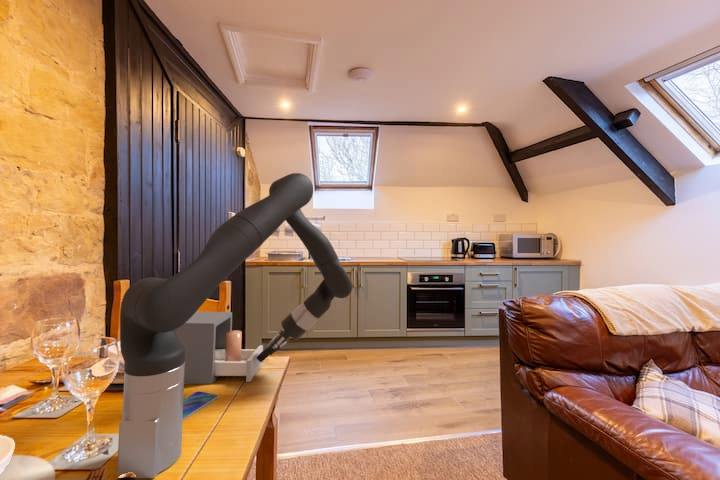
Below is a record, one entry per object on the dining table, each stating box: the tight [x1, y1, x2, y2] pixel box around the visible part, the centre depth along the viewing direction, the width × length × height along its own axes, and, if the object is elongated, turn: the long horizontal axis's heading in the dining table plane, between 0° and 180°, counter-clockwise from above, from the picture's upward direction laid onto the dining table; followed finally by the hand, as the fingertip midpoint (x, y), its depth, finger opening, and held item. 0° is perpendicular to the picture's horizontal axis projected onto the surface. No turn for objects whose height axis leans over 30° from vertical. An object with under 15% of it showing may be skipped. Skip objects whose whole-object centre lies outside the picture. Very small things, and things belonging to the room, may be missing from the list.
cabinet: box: [175, 311, 233, 385], centre depth 92 cm, size 16×14×17 cm
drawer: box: [214, 344, 264, 383], centre depth 93 cm, size 16×13×6 cm
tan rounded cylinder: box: [224, 329, 243, 362], centre depth 92 cm, size 5×5×10 cm
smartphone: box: [183, 391, 219, 421], centre depth 72 cm, size 7×1×15 cm
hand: (259, 359), depth 93 cm, fingers closed
